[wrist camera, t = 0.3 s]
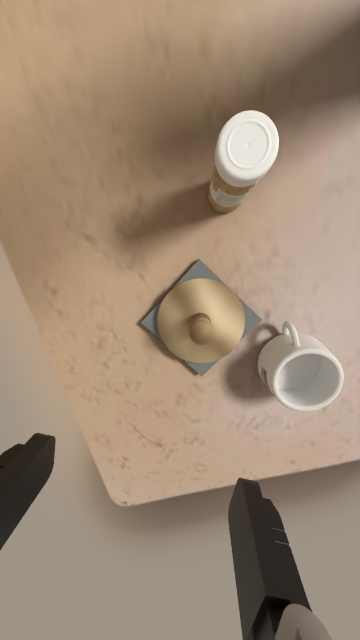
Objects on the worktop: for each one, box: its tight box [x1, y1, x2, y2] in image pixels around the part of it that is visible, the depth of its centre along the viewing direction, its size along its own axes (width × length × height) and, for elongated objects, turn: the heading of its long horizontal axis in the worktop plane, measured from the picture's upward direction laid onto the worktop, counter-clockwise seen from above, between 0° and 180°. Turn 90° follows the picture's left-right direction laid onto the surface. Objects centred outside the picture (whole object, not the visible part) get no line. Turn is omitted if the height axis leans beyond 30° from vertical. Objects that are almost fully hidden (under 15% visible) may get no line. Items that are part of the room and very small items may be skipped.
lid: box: [157, 278, 245, 363], centre depth 30 cm, size 12×12×6 cm
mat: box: [141, 260, 262, 376], centre depth 34 cm, size 12×12×1 cm
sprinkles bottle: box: [208, 110, 279, 213], centre depth 24 cm, size 5×5×13 cm
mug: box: [257, 321, 343, 412], centre depth 32 cm, size 12×10×6 cm
